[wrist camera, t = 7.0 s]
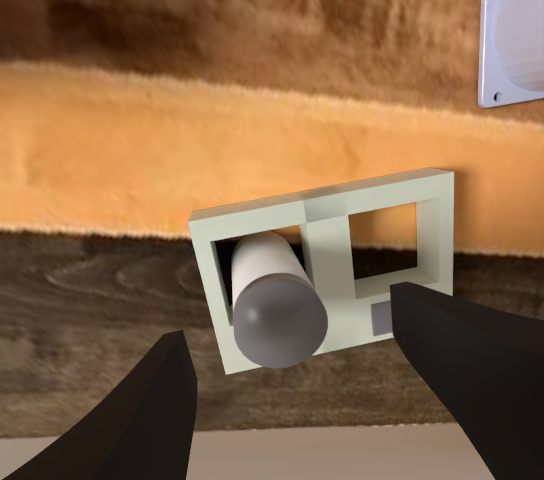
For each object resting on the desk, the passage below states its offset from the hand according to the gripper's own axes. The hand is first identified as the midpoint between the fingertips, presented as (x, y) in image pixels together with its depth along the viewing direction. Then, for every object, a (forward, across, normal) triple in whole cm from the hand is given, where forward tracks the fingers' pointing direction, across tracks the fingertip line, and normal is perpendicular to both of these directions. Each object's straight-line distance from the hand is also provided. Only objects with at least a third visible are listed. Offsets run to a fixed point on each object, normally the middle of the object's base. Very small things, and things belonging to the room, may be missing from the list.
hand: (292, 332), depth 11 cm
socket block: (+10, -4, +2) cm, 11 cm away
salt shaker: (+10, 0, +1) cm, 10 cm away
